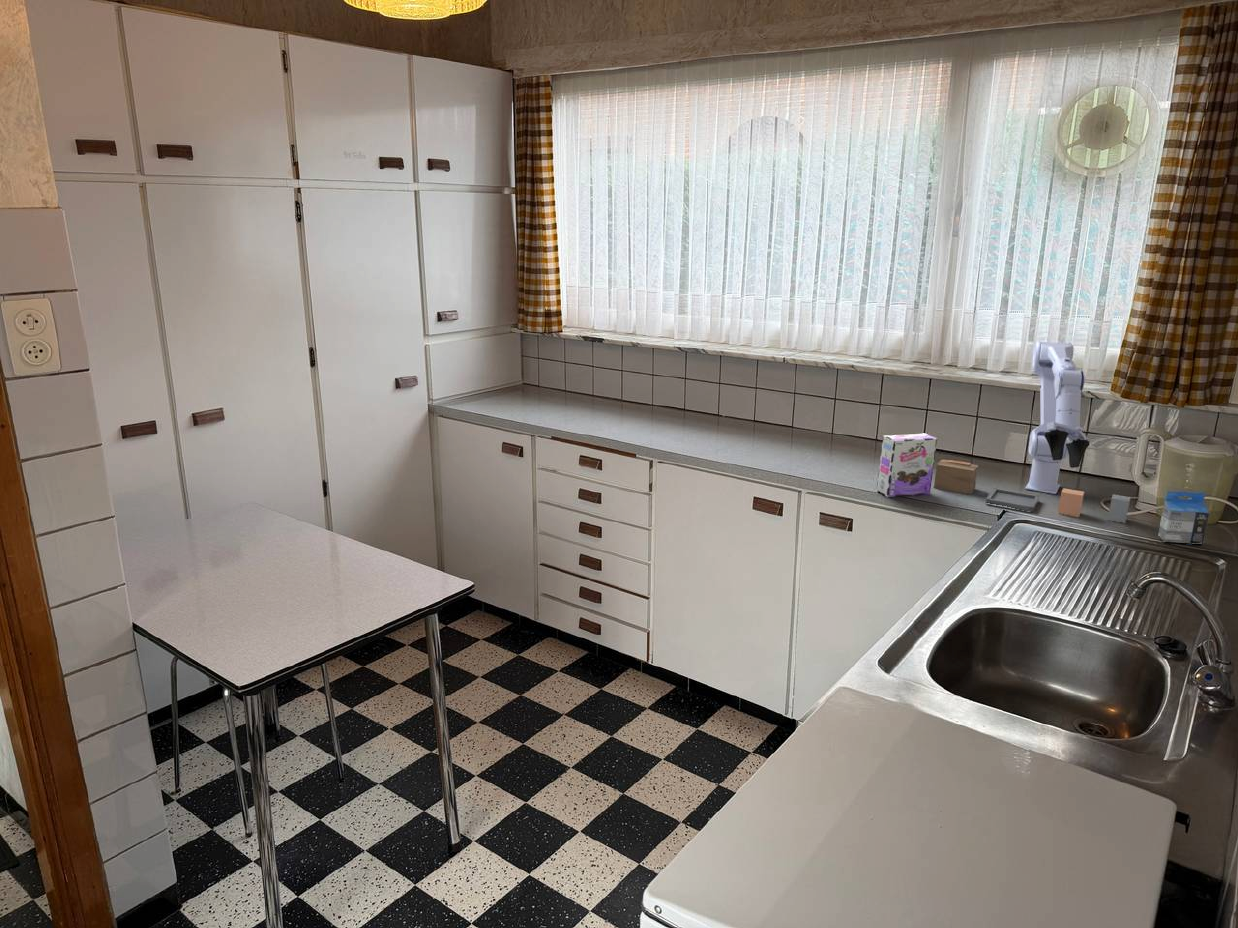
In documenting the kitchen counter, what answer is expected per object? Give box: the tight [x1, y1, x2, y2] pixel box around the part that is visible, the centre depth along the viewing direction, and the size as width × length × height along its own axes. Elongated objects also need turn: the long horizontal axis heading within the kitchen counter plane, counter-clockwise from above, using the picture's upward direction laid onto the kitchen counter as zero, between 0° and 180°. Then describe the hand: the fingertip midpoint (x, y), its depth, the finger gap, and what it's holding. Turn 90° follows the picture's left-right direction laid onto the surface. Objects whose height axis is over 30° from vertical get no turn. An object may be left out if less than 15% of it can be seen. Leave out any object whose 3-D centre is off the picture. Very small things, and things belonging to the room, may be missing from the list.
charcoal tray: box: [985, 487, 1040, 513], centre depth 237 cm, size 12×12×2 cm
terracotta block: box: [1057, 488, 1085, 518], centre depth 229 cm, size 4×5×6 cm
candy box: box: [875, 432, 938, 498], centre depth 241 cm, size 14×6×16 cm, turn 105°
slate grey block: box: [1107, 494, 1131, 524], centre depth 225 cm, size 4×4×6 cm
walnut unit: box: [933, 459, 979, 495], centre depth 248 cm, size 7×10×7 cm, turn 58°
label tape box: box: [1157, 490, 1210, 543], centre depth 210 cm, size 9×4×12 cm, turn 82°
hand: (1065, 463), depth 226 cm, fingers open, 7 cm apart
